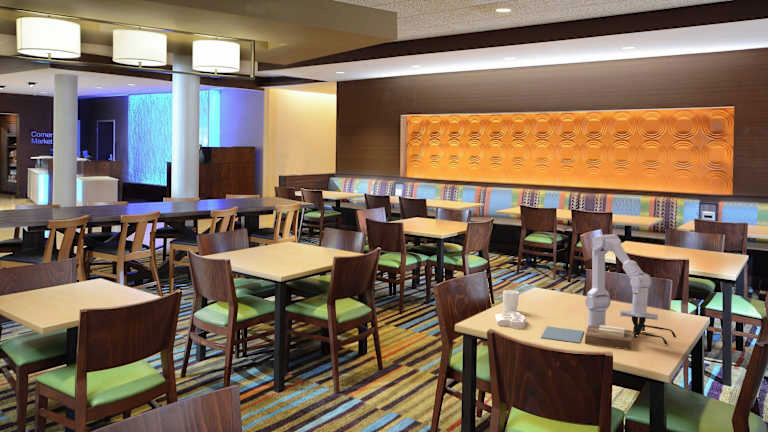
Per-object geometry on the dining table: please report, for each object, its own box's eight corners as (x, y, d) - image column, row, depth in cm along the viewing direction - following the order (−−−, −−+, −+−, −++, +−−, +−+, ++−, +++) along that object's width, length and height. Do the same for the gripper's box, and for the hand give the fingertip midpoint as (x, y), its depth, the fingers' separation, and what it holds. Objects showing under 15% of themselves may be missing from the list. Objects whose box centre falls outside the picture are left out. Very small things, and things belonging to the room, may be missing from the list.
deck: (587, 332, 270) (588, 325, 270) (631, 338, 263) (631, 330, 263) (584, 343, 255) (585, 335, 255) (630, 349, 248) (631, 341, 248)
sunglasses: (667, 346, 255) (668, 334, 254) (630, 338, 264) (630, 327, 264) (676, 338, 265) (676, 327, 265) (640, 331, 275) (640, 320, 274)
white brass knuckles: (494, 317, 294) (525, 318, 292) (498, 328, 276) (530, 329, 274) (494, 310, 293) (525, 312, 292) (498, 321, 275) (530, 322, 274)
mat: (547, 327, 278) (547, 326, 278) (583, 331, 272) (583, 330, 272) (541, 338, 261) (541, 337, 261) (579, 343, 255) (579, 342, 255)
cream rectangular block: (599, 329, 263) (599, 325, 263) (624, 332, 260) (624, 328, 259) (598, 333, 257) (598, 329, 257) (623, 337, 253) (624, 332, 253)
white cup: (518, 309, 307) (519, 290, 306) (517, 313, 299) (518, 294, 298) (502, 308, 309) (503, 289, 308) (501, 312, 302) (502, 292, 300)
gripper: (620, 303, 252) (618, 334, 253) (658, 307, 246) (656, 339, 248) (621, 299, 258) (619, 330, 260) (658, 303, 253) (656, 334, 254)
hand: (637, 334), depth 254 cm, fingers closed
